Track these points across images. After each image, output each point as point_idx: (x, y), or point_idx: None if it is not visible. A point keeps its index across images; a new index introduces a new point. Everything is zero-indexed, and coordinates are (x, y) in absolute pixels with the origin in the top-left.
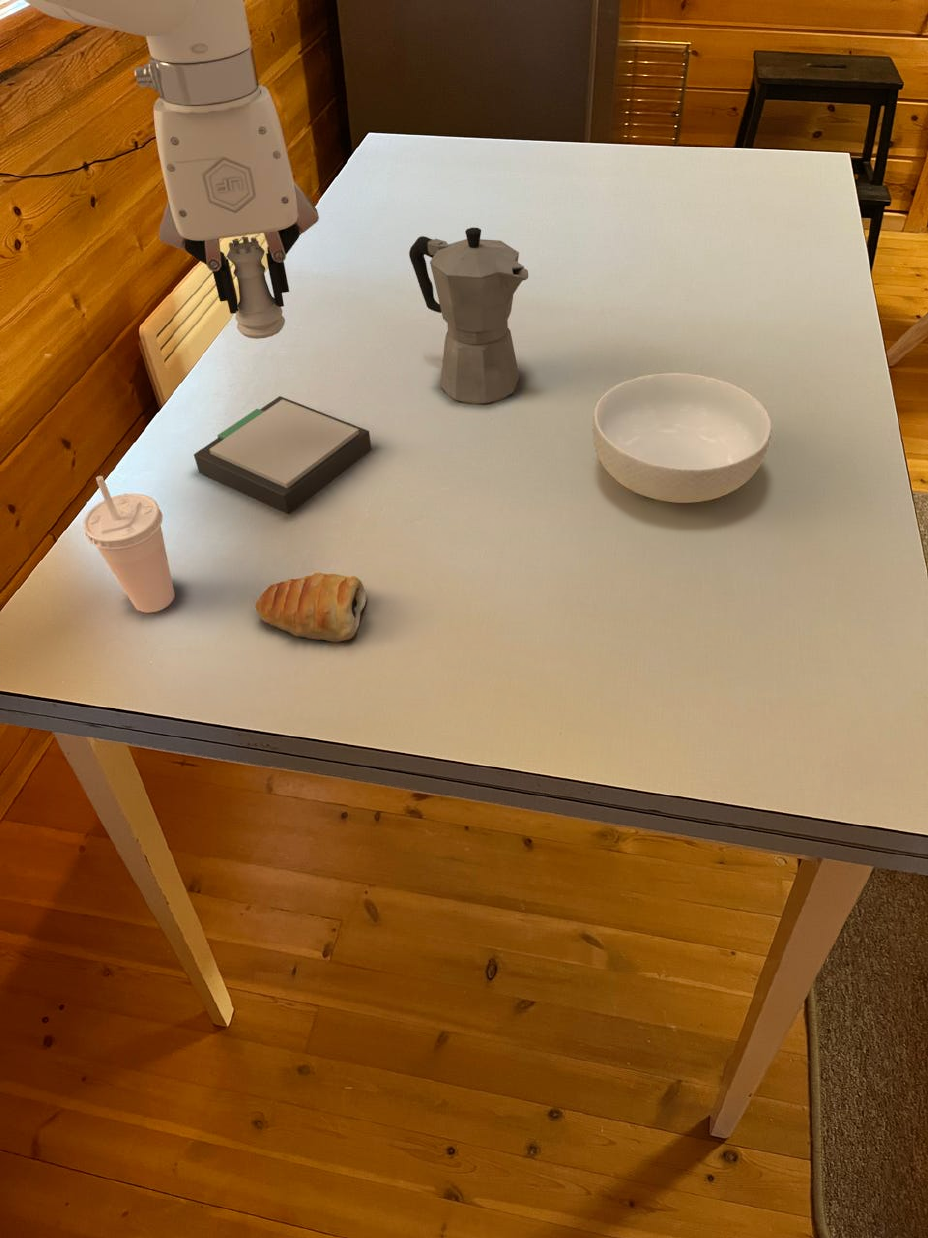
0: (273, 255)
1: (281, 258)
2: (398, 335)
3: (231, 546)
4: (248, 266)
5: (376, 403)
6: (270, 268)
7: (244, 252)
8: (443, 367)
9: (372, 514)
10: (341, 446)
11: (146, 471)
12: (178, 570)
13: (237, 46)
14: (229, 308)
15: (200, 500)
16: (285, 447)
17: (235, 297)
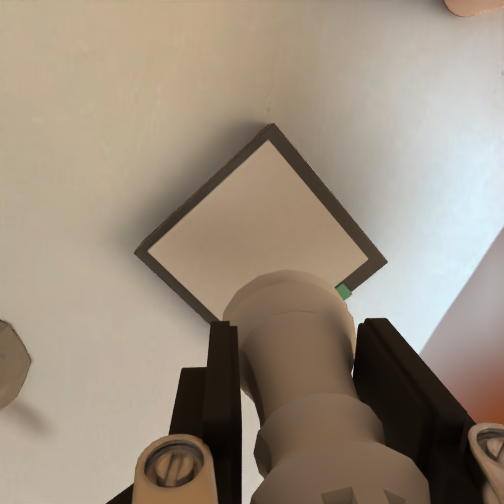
0: (203, 469)
1: (167, 453)
2: (86, 487)
3: (354, 74)
4: (333, 431)
5: (127, 346)
6: (231, 411)
7: (361, 493)
8: (6, 377)
9: (151, 88)
10: (177, 222)
11: (439, 274)
12: (429, 41)
13: None
14: (390, 324)
15: (381, 192)
16: (260, 233)
17: (369, 364)
